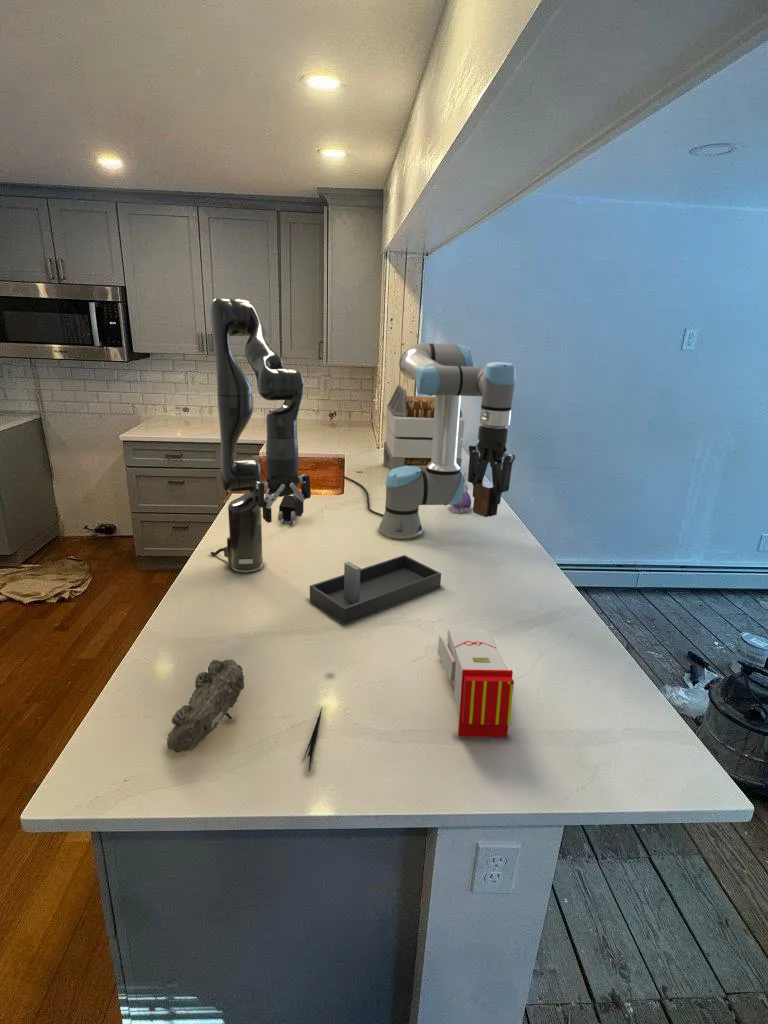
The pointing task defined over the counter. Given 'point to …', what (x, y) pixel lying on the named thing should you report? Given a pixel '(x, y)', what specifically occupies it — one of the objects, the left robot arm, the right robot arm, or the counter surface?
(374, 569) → the tray
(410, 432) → the white wooden crate
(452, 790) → the counter surface
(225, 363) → the left robot arm
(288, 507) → the figurine character
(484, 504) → the block
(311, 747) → the feather
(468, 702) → the toy
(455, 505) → the figurine
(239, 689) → the fossil
